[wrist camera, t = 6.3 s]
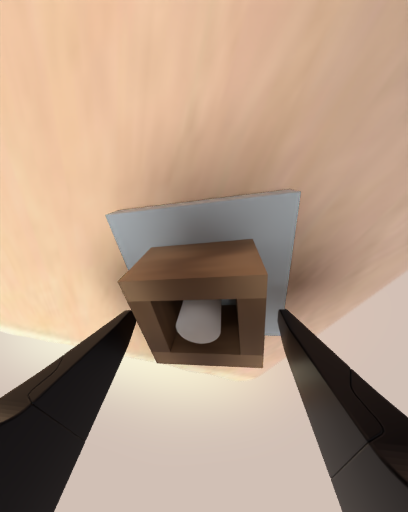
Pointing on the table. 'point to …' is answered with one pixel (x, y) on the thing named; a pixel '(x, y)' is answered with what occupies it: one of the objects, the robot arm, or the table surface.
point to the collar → (201, 288)
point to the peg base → (215, 230)
